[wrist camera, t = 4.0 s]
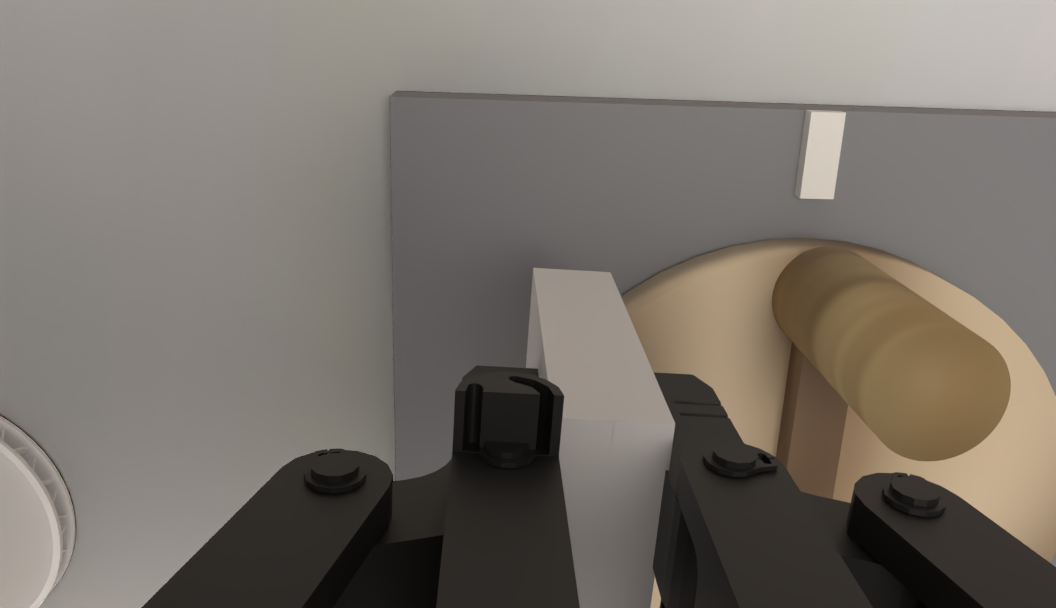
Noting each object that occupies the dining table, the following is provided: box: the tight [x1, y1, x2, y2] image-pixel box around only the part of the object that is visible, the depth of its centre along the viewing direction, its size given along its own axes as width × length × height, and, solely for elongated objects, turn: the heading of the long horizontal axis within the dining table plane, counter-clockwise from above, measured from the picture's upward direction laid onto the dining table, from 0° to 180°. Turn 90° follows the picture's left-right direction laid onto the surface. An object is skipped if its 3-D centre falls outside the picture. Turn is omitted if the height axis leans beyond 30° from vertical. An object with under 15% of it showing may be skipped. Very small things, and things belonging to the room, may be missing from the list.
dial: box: [621, 238, 1056, 608], centre depth 20 cm, size 14×14×7 cm
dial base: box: [390, 91, 1056, 567], centre depth 24 cm, size 20×20×2 cm
